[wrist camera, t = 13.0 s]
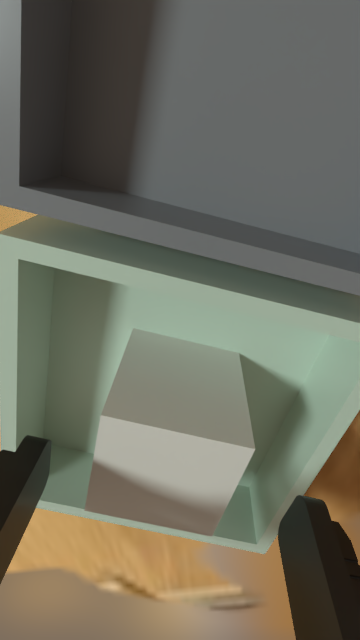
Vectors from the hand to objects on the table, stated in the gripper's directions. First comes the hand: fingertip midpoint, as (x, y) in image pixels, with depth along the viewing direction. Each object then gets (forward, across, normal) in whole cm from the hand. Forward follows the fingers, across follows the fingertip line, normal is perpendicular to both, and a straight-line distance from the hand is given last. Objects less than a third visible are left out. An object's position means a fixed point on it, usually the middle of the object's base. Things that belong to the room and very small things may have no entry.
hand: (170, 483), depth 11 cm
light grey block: (+5, 0, 0) cm, 5 cm away
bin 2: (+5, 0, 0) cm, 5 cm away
